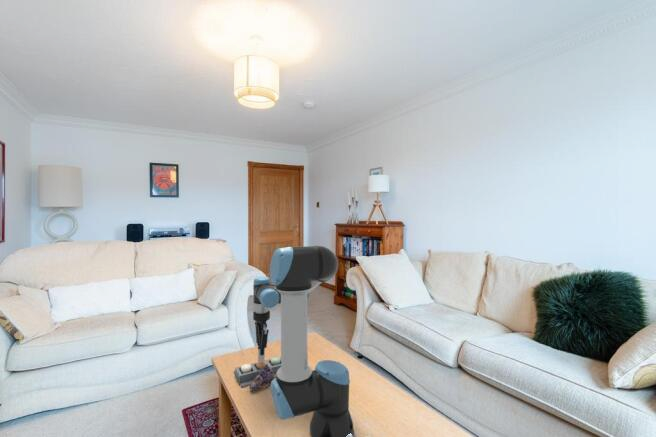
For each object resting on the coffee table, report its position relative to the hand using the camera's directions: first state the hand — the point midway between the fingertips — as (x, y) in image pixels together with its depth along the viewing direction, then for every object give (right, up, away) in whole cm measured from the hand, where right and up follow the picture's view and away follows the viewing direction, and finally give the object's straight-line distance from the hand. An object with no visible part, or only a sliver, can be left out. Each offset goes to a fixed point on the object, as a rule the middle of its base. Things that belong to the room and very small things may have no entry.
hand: (261, 360), depth 141 cm
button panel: (0, -6, 0) cm, 6 cm away
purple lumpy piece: (+2, -6, -9) cm, 12 cm away
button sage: (+6, -3, +4) cm, 8 cm away
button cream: (-6, -3, -4) cm, 8 cm away
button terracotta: (0, -3, 0) cm, 3 cm away
